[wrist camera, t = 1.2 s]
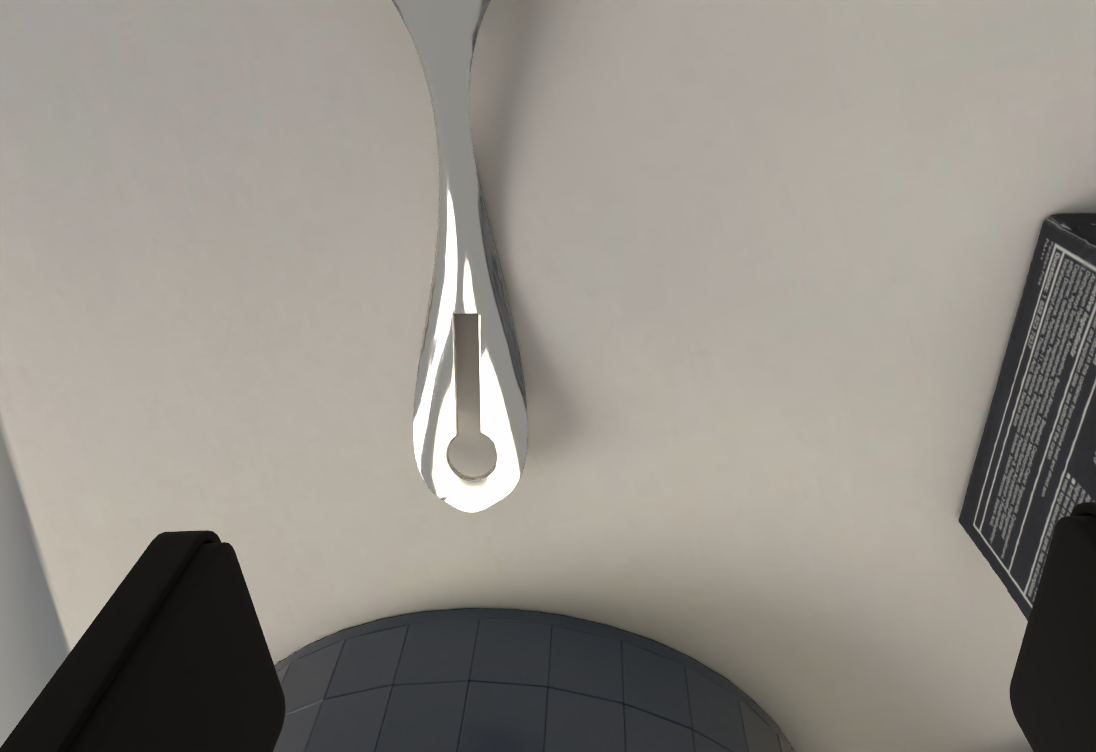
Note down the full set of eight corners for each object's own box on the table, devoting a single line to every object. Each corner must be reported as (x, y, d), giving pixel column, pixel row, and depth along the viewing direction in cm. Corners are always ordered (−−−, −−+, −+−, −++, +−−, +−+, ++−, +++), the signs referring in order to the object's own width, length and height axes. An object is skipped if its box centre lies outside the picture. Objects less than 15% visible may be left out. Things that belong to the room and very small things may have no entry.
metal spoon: (543, 556, 23) (379, 551, 23) (549, 487, 26) (405, 483, 26) (542, -360, 14) (280, -355, 14) (551, -291, 17) (337, -288, 18)
